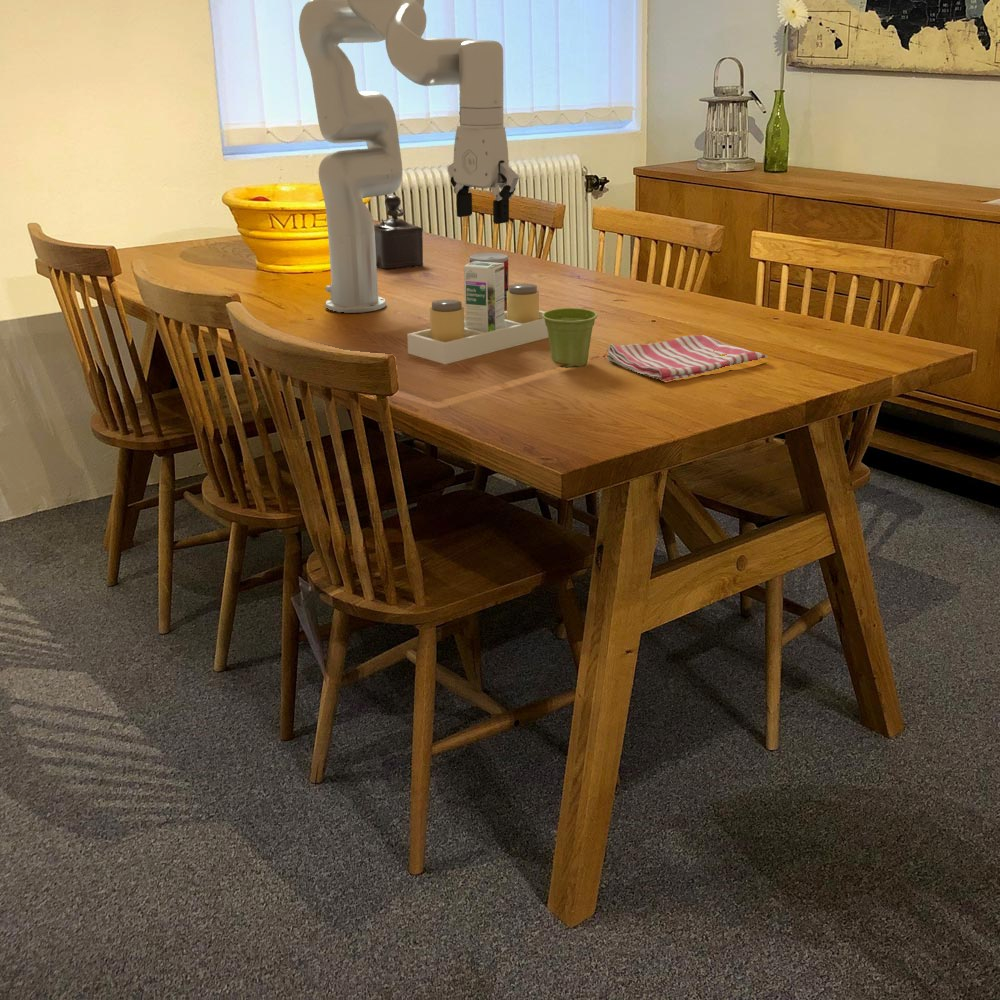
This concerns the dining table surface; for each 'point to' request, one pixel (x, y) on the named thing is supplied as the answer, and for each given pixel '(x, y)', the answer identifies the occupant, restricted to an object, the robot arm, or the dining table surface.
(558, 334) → the plant pot
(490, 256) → the canned food
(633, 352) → the dish towel
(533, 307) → the honey jar
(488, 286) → the syrup box
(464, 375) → the dining table surface
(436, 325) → the honey jar
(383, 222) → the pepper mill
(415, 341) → the caddy
